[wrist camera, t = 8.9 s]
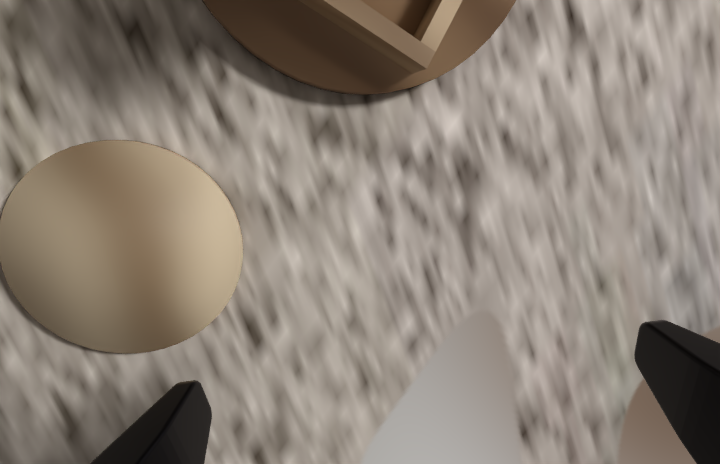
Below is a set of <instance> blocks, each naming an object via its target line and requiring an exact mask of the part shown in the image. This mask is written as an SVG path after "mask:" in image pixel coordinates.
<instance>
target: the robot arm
mask: <svg viewBox="0 0 720 464" xmlns="http://www.w3.org/2000/svg"><path fill="white" fill-rule="evenodd" d="M635 361H636V364H637V366H638V368H639V370H640V372H641V373H642V375H643V377H644V379H645V380H646V382H647V384H648V386H649V387H650V389H651V391H652V392H653V394H654V396H655V398H656V399H657V401H658V403H659V404H660V406H661V408H662V410H663V411H664V413H665V415H666V417H667V419H668V420H669V422H670V424H671V425H672V427H673V429H674V430H675V432H676V434H677V435H678V437H679V438H680V440H681V441H682V443H683V444H684V446H685V447H686V449H687V450H688V452H689V453H690V455H691V456H692V457H693V459H694V460H695V462H696V463H697V464H720V343H718V342H715V341H713V340H710V339H708V338H706V337H704V336H701V335H699V334H697V333H694V332H692V331H690V330H687V329H685V328H683V327H680V326H678V325H676V324H673V323H671V322H668V321H665V320H658V321H650V322H644V323H642V324H641V326H640V328H639V332H638V337H637V343H636V348H635ZM211 419H212V412H211V407H210V405H209V402H208V400H207V398H206V395H205V393H204V390H203V388H202V386H201V384H200V383H199V382H198V381H195V380H193V381H186V382H180V383H177V384H176V385H174V386H173V387H172V388H171V389H170V390H169V391H168V392H167V393H166V394H165V395H164V396H163V397H161V398H160V399H159V400H158V401H157V402H156V403H155V404H154V405H153V406H152V407H151V408H150V409H148V410H147V411H146V412H145V413H144V414H143V415H142V416H141V417H140V418H139V419H138V420H137V421H136V422H134V423H133V424H132V425H131V426H130V427H129V428H128V429H127V430H126V431H125V432H124V433H123V434H121V435H120V436H119V437H118V438H117V439H116V440H115V441H114V442H113V443H112V444H111V445H110V446H109V447H107V448H106V449H105V450H104V451H103V452H102V453H101V454H100V455H99V456H98V457H97V458H96V459H94V460H93V461H92V462H91V463H90V464H204V461H205V455H206V449H207V443H208V437H209V431H210V425H211Z"/></svg>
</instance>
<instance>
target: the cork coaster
mask: <svg viewBox="0 0 720 464" xmlns="http://www.w3.org/2000/svg"><path fill="white" fill-rule="evenodd" d="M242 259H243V240H242V233H241V229H240V224H239V221H238V218H237V216H236V213H235V210H234V209H233V207H232V205H231V203H230V201H229V199H228V198H227V196H226V195H225V193H224V192H223V190H222V189H221V188H220V186H219V185H218V184H217V183H216V182H215V181H214V180H213V179H212V178H211V177H210V176H209V175H208V174H207V173H206V172H205V171H203V170H202V169H201V168H200V167H199V166H197V165H196V164H194V163H193V162H191V161H190V160H188V159H187V158H185V157H183V156H181V155H179V154H177V153H175V152H173V151H170V150H168V149H165V148H162V147H159V146H156V145H152V144H148V143H144V142H137V141H128V140H104V141H96V142H89V143H84V144H80V145H77V146H73V147H70V148H67V149H65V150H62V151H60V152H57V153H55V154H53V155H52V156H50V157H48V158H47V159H45V160H43V161H41V162H40V163H39V164H38V165H36V166H35V167H34V168H33V169H31V170H30V171H29V172H28V173H27V174H26V175H25V176H24V177H23V178H22V179H21V180H20V182H19V183H18V184H17V185H16V187H15V188H14V190H13V191H12V193H11V194H10V196H9V198H8V200H7V202H6V205H5V207H4V209H3V212H2V216H1V219H0V263H1V267H2V270H3V273H4V275H5V278H6V281H7V283H8V285H9V287H10V288H11V290H12V292H13V294H14V295H15V297H16V298H17V300H18V301H19V302H20V303H21V305H22V306H23V307H24V309H25V310H26V311H27V312H28V313H29V314H30V315H31V316H32V317H33V318H34V319H35V320H37V321H38V322H39V323H40V324H42V325H43V326H44V327H46V328H47V329H48V330H50V331H52V332H53V333H55V334H57V335H58V336H60V337H62V338H64V339H66V340H68V341H70V342H73V343H75V344H78V345H81V346H84V347H87V348H90V349H94V350H99V351H104V352H112V353H142V352H150V351H155V350H159V349H164V348H167V347H170V346H172V345H175V344H178V343H180V342H182V341H184V340H186V339H188V338H190V337H192V336H194V335H195V334H197V333H198V332H200V331H201V330H203V329H204V328H205V327H206V326H208V325H209V324H210V323H211V322H212V321H213V320H214V319H215V318H216V317H217V316H218V315H219V314H220V313H221V312H222V310H223V309H224V307H225V306H226V305H227V303H228V302H229V300H230V298H231V296H232V294H233V293H234V291H235V288H236V285H237V283H238V280H239V277H240V272H241V267H242Z"/></svg>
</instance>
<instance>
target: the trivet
mask: <svg viewBox="0 0 720 464" xmlns="http://www.w3.org/2000/svg"><path fill="white" fill-rule="evenodd" d="M202 1H203V2H204V3H205V5H206V6H207V8H208V9H209V10H210V12H211V13H212V14H213V16H214V17H215V18H216V19H217V20H218V22H219V23H220V24H221V25H222V26H223V27H224V28H225V29H226V30H227V31H228V32H229V34H230V35H231V36H232V37H233V38H234V39H235V40H237V41H238V42H239V43H240V44H241V45H242V46H244V47H245V48H246V49H247V50H248V51H249V52H251V53H252V54H253V55H254V56H255V57H257V58H258V59H260V60H261V61H263V62H264V63H266V64H267V65H269V66H270V67H272V68H273V69H275V70H277V71H279V72H281V73H283V74H285V75H287V76H289V77H291V78H293V79H295V80H297V81H299V82H302V83H305V84H308V85H310V86H313V87H316V88H319V89H323V90H328V91H333V92H338V93H343V94H359V95H369V94H381V93H389V92H393V91H398V90H402V89H407V88H410V87H414V86H417V85H419V84H422V83H425V82H427V81H430V80H433V79H435V78H437V77H439V76H441V75H443V74H444V73H446V72H448V71H450V70H452V69H453V68H455V67H457V66H458V65H459V64H461V63H462V62H463V61H465V60H466V59H467V58H469V57H470V56H471V55H473V54H474V53H475V52H476V51H477V50H478V49H479V48H480V47H481V46H482V45H483V44H484V43H485V42H486V41H487V40H488V39H489V38H490V37H491V36H492V34H493V33H494V32H495V31H496V29H497V28H498V27H499V26H500V24H501V23H502V22H503V21H504V19H505V18H506V16H507V14H508V13H509V11H510V9H511V8H512V6H513V5H514V3H515V1H516V0H202Z"/></svg>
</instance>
